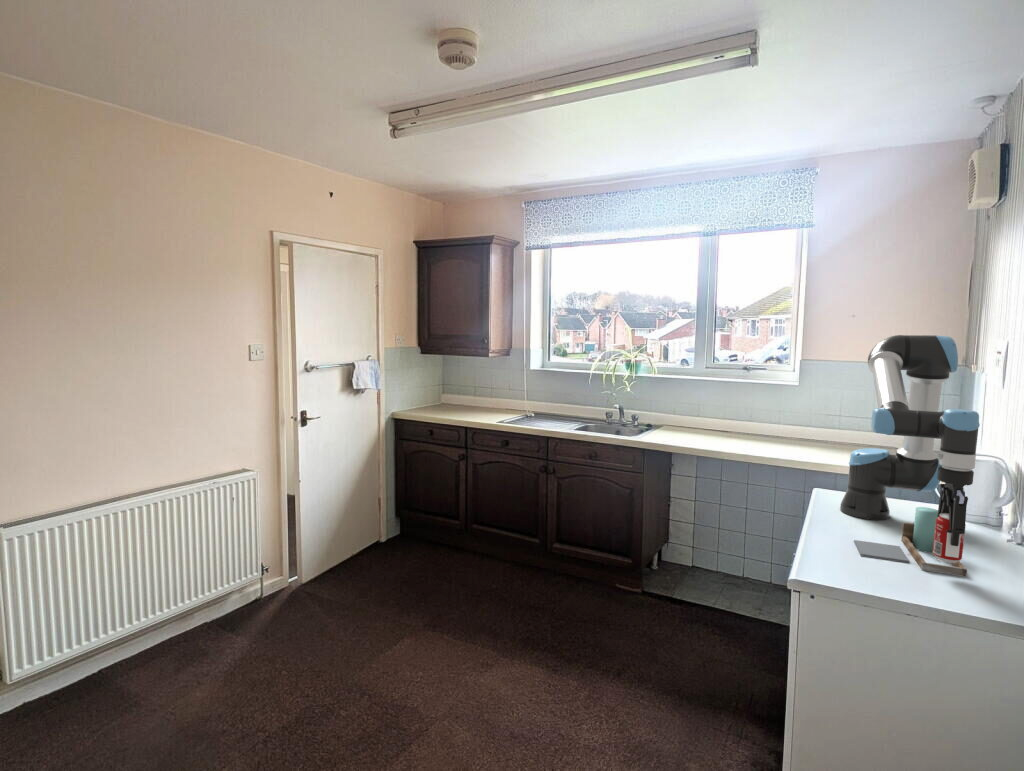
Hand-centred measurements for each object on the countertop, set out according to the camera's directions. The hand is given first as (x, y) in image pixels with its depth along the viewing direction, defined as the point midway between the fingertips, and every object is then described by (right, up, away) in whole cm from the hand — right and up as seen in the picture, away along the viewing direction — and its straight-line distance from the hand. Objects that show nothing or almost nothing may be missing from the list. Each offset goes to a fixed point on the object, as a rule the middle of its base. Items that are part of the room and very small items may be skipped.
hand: (947, 551), depth 155 cm
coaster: (-8, -5, +16) cm, 19 cm away
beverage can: (0, -2, 0) cm, 2 cm away
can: (+8, -5, +20) cm, 22 cm away
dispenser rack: (+5, -5, +13) cm, 15 cm away
